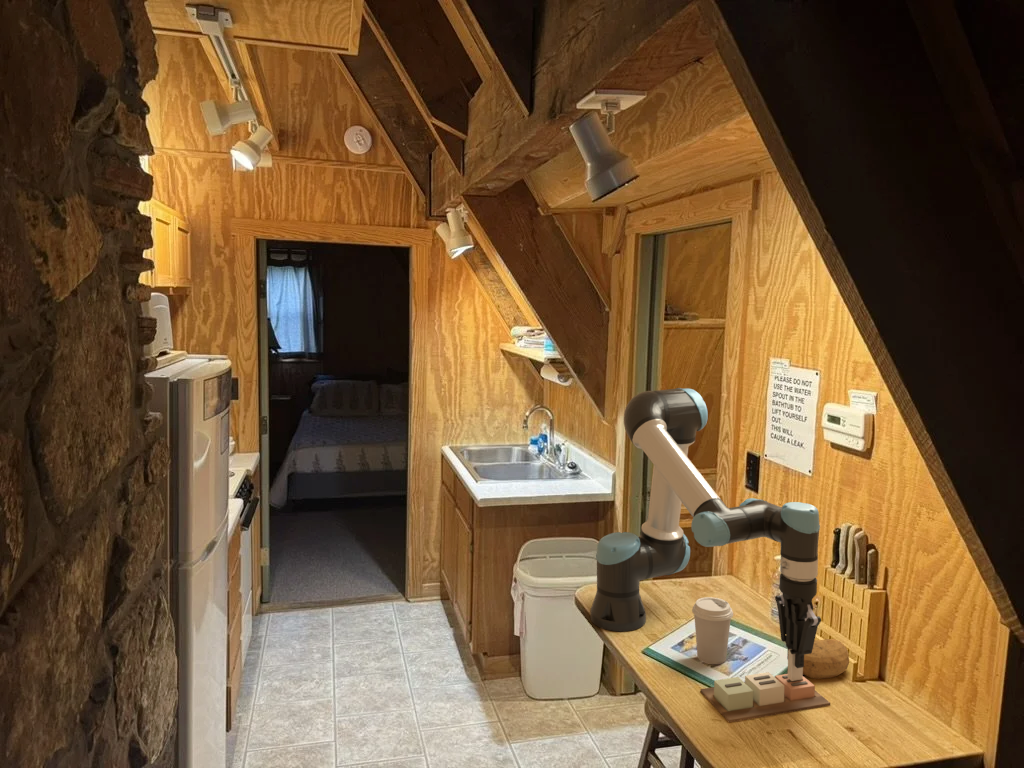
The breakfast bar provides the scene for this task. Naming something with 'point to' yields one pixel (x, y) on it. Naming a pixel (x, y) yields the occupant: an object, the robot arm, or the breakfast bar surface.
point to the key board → (765, 706)
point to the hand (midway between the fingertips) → (795, 678)
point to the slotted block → (733, 694)
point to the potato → (826, 659)
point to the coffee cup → (712, 629)
